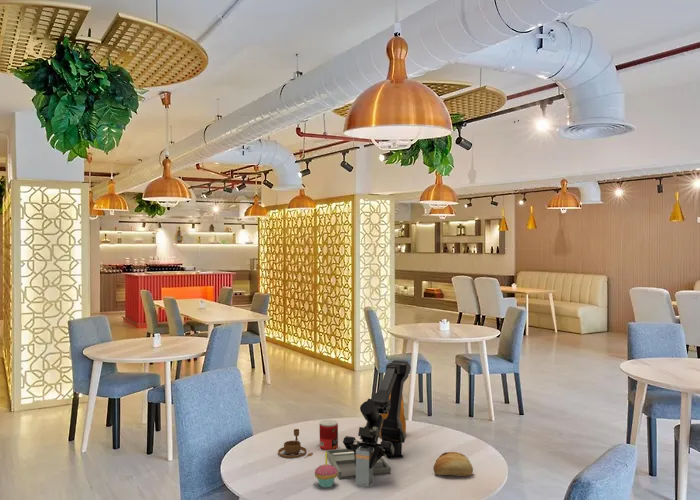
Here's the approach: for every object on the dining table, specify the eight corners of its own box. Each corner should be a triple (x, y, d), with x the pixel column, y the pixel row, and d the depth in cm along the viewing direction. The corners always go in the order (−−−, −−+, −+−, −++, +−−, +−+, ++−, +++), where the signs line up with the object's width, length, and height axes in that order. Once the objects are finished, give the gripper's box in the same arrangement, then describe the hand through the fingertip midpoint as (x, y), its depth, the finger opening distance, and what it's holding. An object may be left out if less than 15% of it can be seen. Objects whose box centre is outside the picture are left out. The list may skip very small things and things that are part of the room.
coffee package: (406, 440, 265) (406, 390, 265) (378, 439, 266) (378, 390, 266) (405, 432, 275) (405, 385, 275) (378, 432, 276) (378, 385, 276)
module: (360, 480, 220) (360, 443, 220) (373, 482, 218) (373, 445, 218) (355, 485, 215) (355, 448, 215) (368, 487, 213) (369, 450, 213)
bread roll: (431, 469, 230) (431, 449, 230) (469, 469, 231) (469, 448, 231) (435, 479, 221) (435, 458, 221) (475, 479, 221) (475, 457, 221)
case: (372, 450, 251) (372, 441, 251) (390, 474, 226) (390, 463, 226) (325, 455, 247) (325, 445, 247) (339, 479, 221) (339, 468, 221)
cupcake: (314, 480, 220) (314, 448, 220) (337, 479, 221) (337, 447, 221) (315, 490, 212) (314, 456, 211) (338, 489, 212) (338, 456, 212)
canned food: (335, 451, 251) (335, 425, 251) (317, 450, 253) (317, 424, 252) (339, 445, 258) (339, 420, 258) (321, 444, 260) (321, 419, 260)
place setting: (266, 455, 248) (266, 441, 248) (294, 441, 266) (294, 428, 266) (300, 463, 239) (300, 448, 239) (327, 448, 257) (327, 434, 257)
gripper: (344, 414, 224) (333, 453, 213) (392, 420, 217) (382, 460, 207) (352, 429, 231) (341, 467, 221) (398, 435, 224) (389, 474, 214)
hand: (363, 467), depth 215 cm, fingers closed on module, 5 cm apart
